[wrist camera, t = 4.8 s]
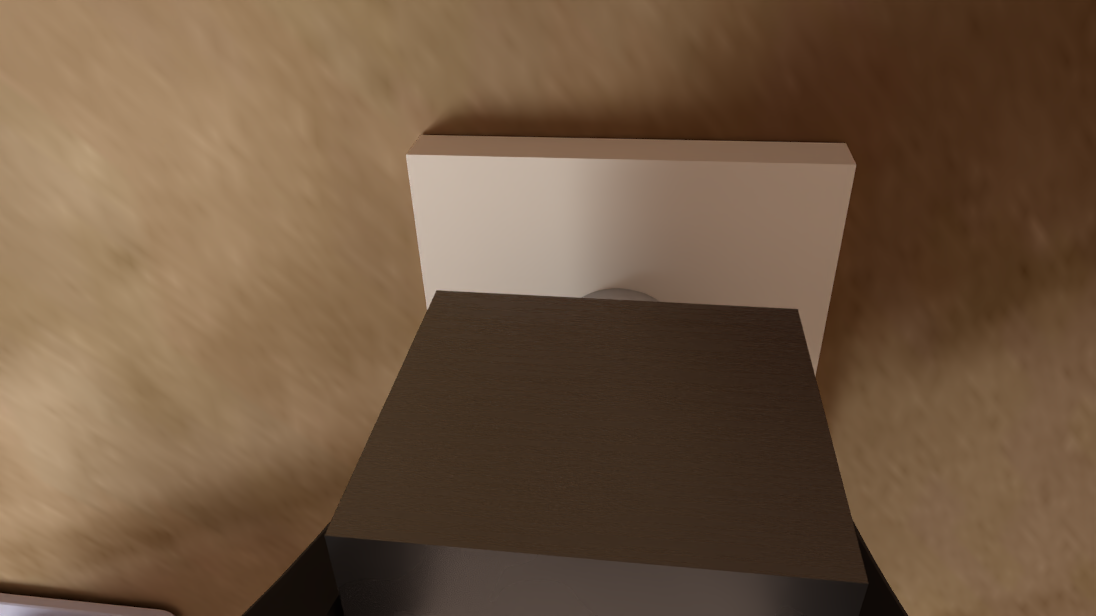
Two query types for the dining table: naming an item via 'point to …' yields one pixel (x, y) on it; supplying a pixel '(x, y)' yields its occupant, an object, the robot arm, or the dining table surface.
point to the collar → (599, 468)
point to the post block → (634, 220)
